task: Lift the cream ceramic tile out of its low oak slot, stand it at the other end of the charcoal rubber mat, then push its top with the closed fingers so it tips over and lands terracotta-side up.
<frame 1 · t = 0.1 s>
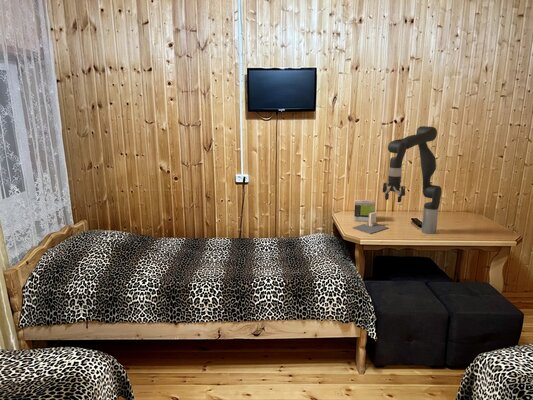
hand: (392, 201, 232), 29 cm above the table, fingers open, 8 cm apart
mat: (370, 228, 273), on the table
slot stand: (371, 223, 279), on the mat, point 1 cm above the table
tile: (372, 218, 278), on the mat, point 5 cm above the table
tea box: (363, 220, 294), on the table
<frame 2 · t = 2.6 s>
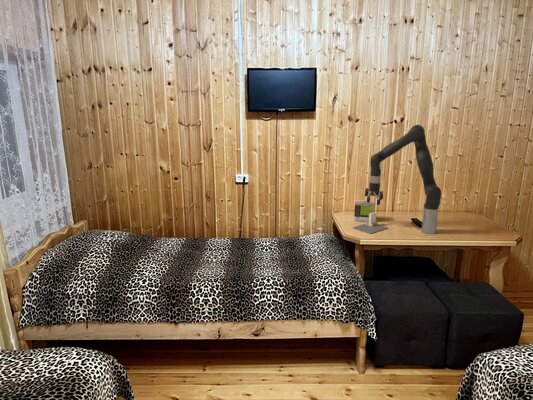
hand: (373, 203, 276), 17 cm above the table, fingers open, 8 cm apart
nothing on the table moved.
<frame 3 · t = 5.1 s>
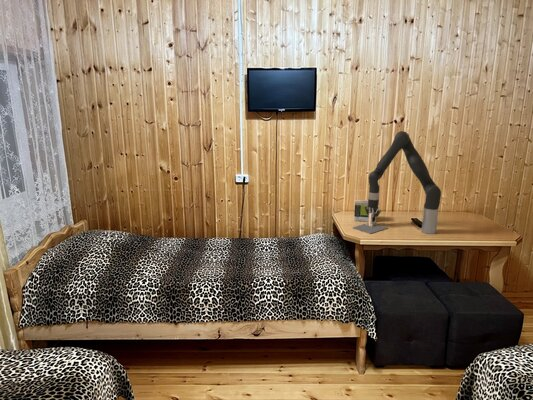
hand: (371, 221, 279), 3 cm above the table, fingers closed on tile, 2 cm apart
tile: (372, 218, 279), point 5 cm above the table, touching gripper
everything else where it was.
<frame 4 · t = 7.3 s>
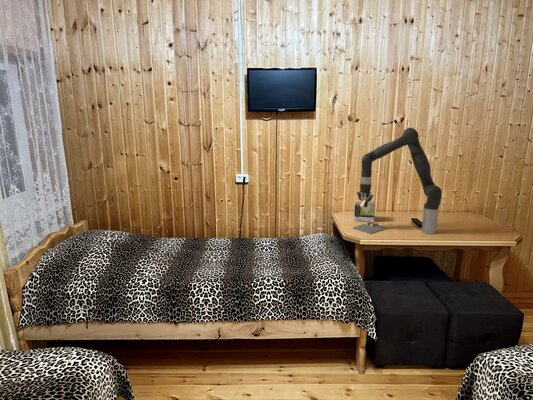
hand: (364, 206, 270), 16 cm above the table, fingers closed on tile, 1 cm apart
tile: (365, 206, 271), point 16 cm above the table, tilted 44°, touching gripper
everything else where it was.
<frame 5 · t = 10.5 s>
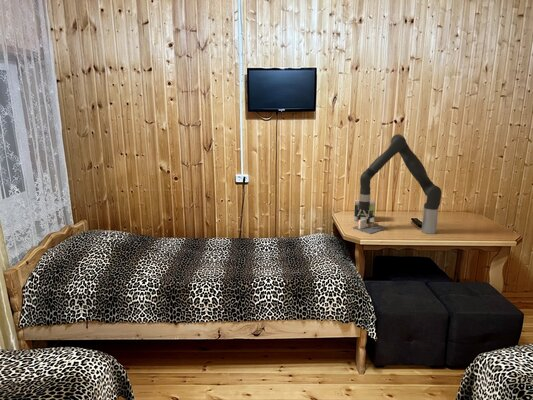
hand: (363, 222, 273), 4 cm above the table, fingers open, 7 cm apart
tile: (363, 223, 273), on the mat, point 4 cm above the table, tilted 90°
everything else where it was.
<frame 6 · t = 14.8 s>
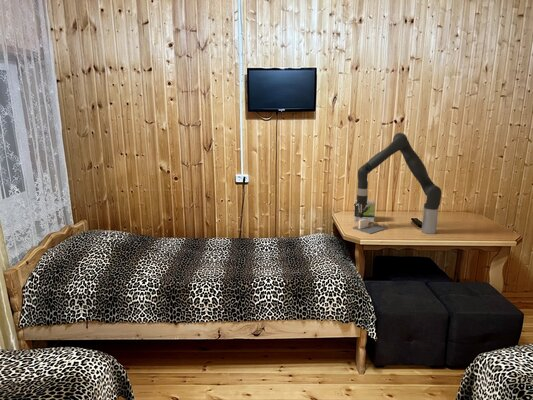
hand: (361, 217, 274), 7 cm above the table, fingers closed
nothing on the table moved.
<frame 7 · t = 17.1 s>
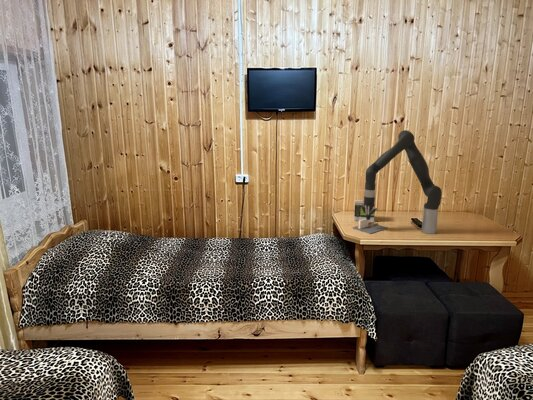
hand: (368, 219, 269), 8 cm above the table, fingers closed
nothing on the table moved.
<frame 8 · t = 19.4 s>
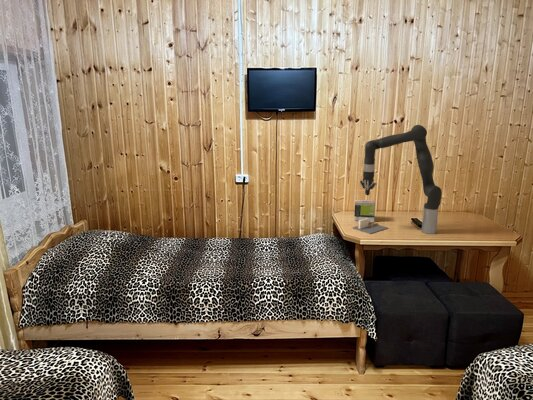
hand: (367, 194, 266), 25 cm above the table, fingers closed
nothing on the table moved.
at the end: tile tilted 90°; tile inside the target area on the mat (3.6 cm from its centre), point 3.6 cm above the mat's base; the gripper is holding nothing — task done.
